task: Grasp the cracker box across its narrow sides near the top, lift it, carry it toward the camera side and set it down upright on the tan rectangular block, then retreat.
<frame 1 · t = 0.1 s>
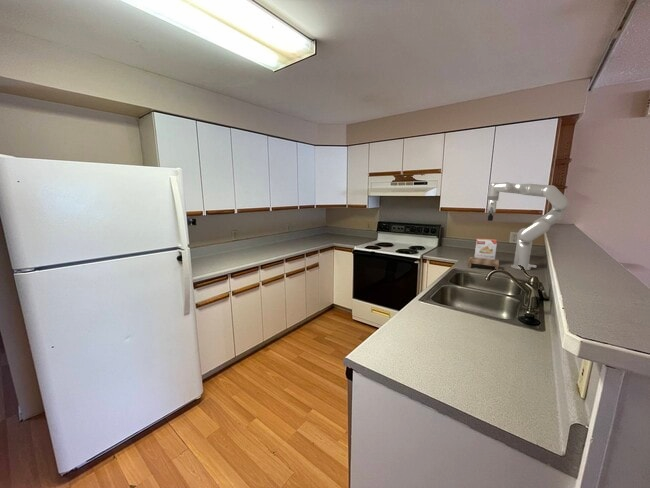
hand: (490, 220, 215), 36 cm above the worktop, tool pointing down, fingers open, 9 cm apart
cracker box: (483, 264, 220), on the worktop
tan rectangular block: (482, 267, 210), on the worktop
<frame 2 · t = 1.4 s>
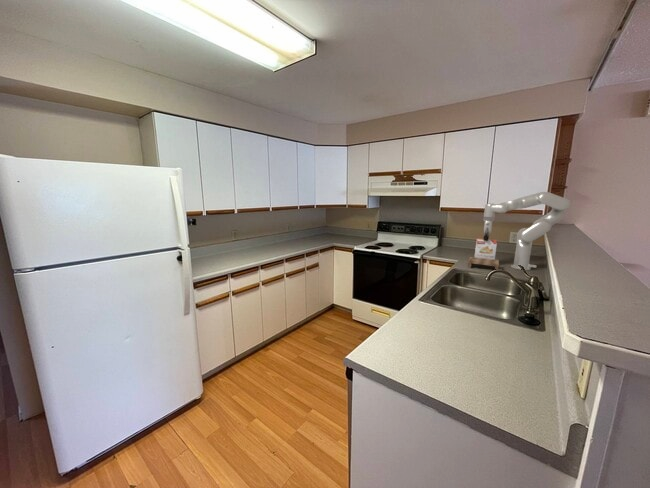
hand: (485, 239, 217), 20 cm above the worktop, tool pointing down, fingers open, 9 cm apart
nothing on the worktop moved.
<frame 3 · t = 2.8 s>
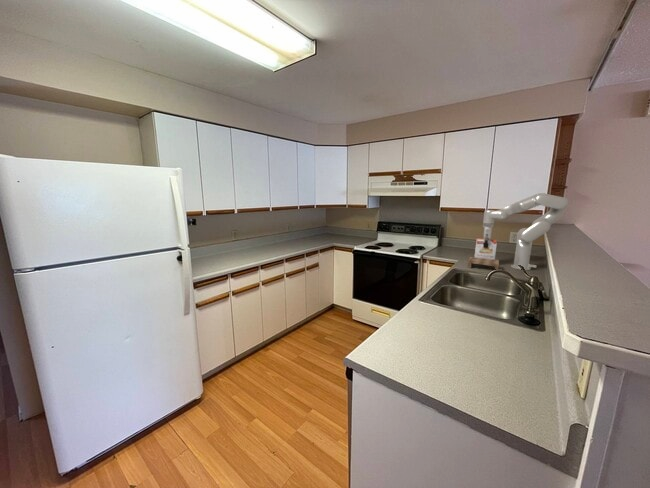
hand: (485, 246, 218), 15 cm above the worktop, tool pointing down, fingers closed on cracker box, 6 cm apart
cracker box: (483, 264, 220), on the worktop, touching gripper
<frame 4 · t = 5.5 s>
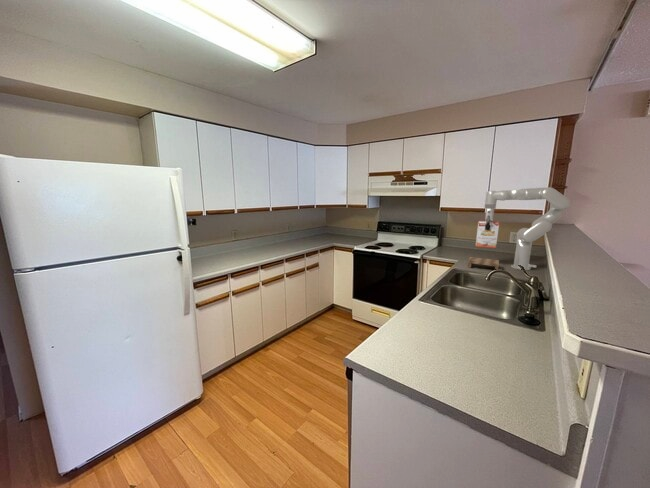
hand: (487, 229, 213), 30 cm above the worktop, tool pointing down, fingers closed on cracker box, 6 cm apart
cracker box: (485, 247, 215), point 15 cm above the worktop, touching gripper
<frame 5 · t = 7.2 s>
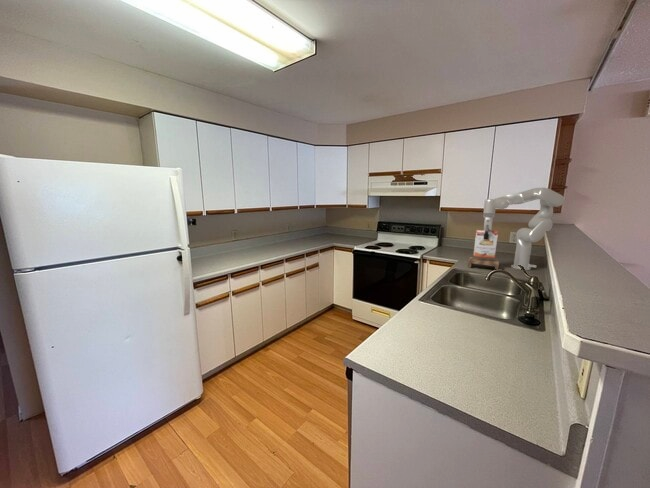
hand: (486, 238, 205), 23 cm above the worktop, tool pointing down, fingers closed on cracker box, 6 cm apart
cracker box: (483, 257, 208), point 9 cm above the worktop, touching gripper
when the fingers open (22 cm above the worktop, at t = 8.4 s): cracker box drops 1 cm, resting on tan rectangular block.
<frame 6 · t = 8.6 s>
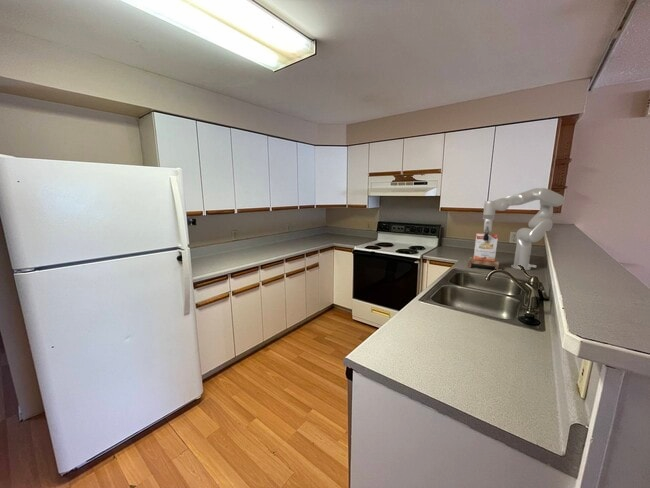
hand: (486, 239, 205), 22 cm above the worktop, tool pointing down, fingers open, 8 cm apart
cracker box: (483, 260, 208), point 6 cm above the worktop, touching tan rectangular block
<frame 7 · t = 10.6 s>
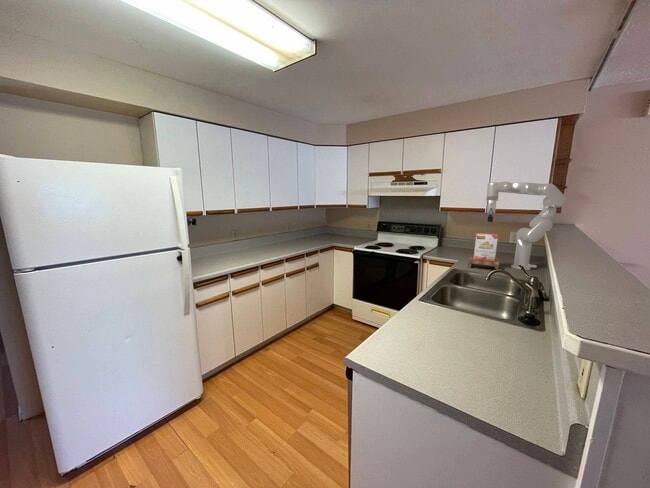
hand: (489, 221, 206), 37 cm above the worktop, tool pointing down, fingers open, 9 cm apart
nothing on the worktop moved.
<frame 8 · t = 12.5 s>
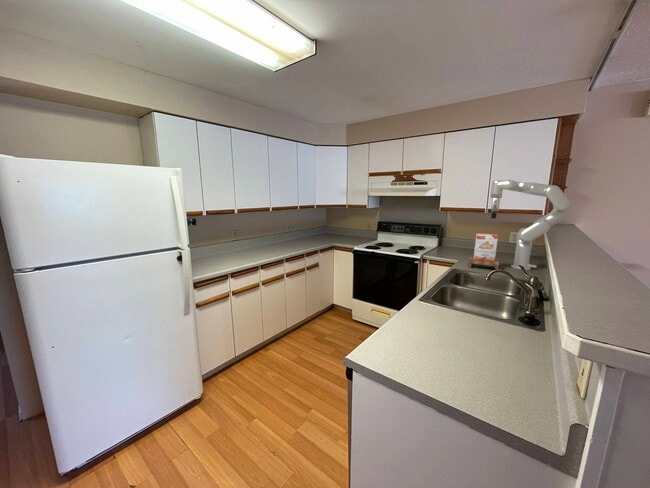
hand: (493, 218, 213), 38 cm above the worktop, tool pointing down, fingers open, 9 cm apart
nothing on the worktop moved.
at the end: cracker box inside the target area on the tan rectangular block (0.3 cm from its centre), point 5.8 cm above the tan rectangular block's base; cracker box tilted 0°; the gripper is holding nothing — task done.
